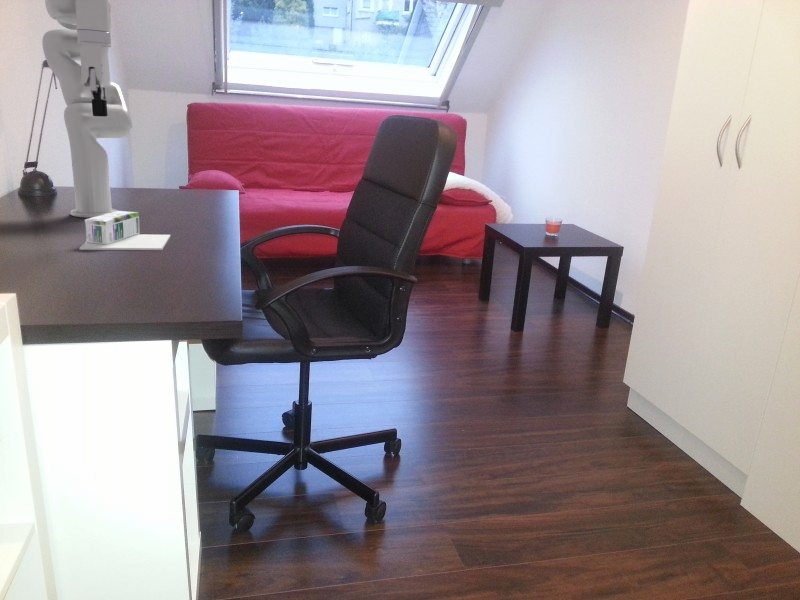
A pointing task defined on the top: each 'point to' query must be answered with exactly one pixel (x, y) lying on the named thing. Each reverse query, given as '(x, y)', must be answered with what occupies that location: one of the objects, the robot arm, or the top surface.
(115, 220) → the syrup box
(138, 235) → the mat
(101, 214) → the robot arm
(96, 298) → the top surface
